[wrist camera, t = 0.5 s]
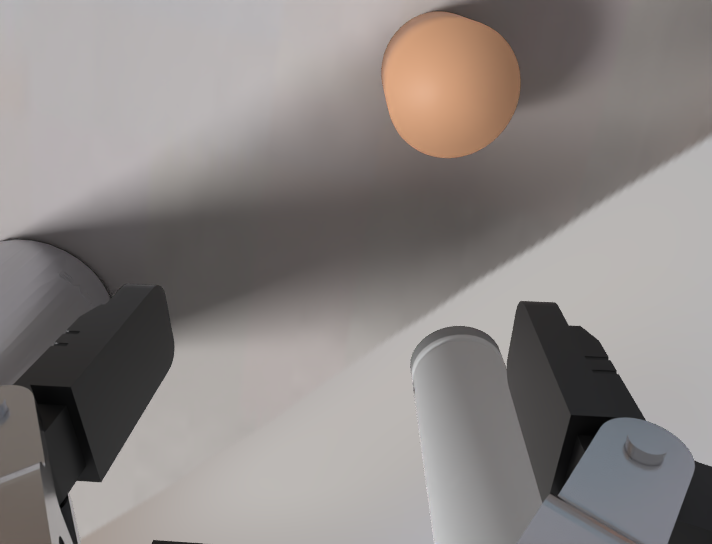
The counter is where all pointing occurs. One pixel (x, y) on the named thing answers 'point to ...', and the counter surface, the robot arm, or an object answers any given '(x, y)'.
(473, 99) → the terracotta drum
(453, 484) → the travel mug
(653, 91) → the counter surface
